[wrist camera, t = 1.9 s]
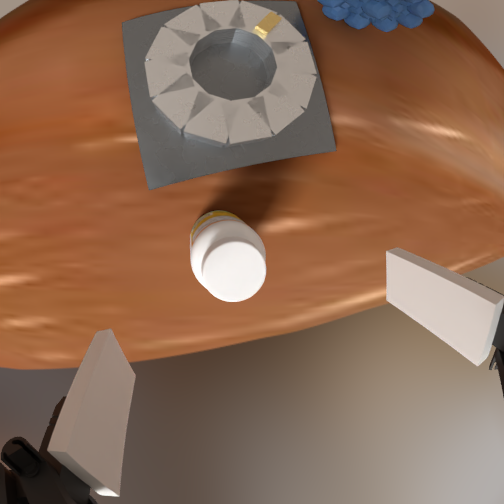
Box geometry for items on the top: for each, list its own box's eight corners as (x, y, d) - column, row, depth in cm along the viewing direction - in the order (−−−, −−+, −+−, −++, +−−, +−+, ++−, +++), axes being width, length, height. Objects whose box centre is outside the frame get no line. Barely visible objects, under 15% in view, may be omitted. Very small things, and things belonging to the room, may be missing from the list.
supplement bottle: (242, 267, 27) (269, 313, 18) (187, 263, 26) (187, 310, 17) (250, 213, 26) (284, 234, 17) (193, 206, 25) (195, 224, 15)
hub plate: (150, 189, 23) (142, 192, 19) (123, 26, 18) (114, 4, 13) (331, 151, 26) (356, 148, 22) (292, 5, 20) (308, -15, 16)
